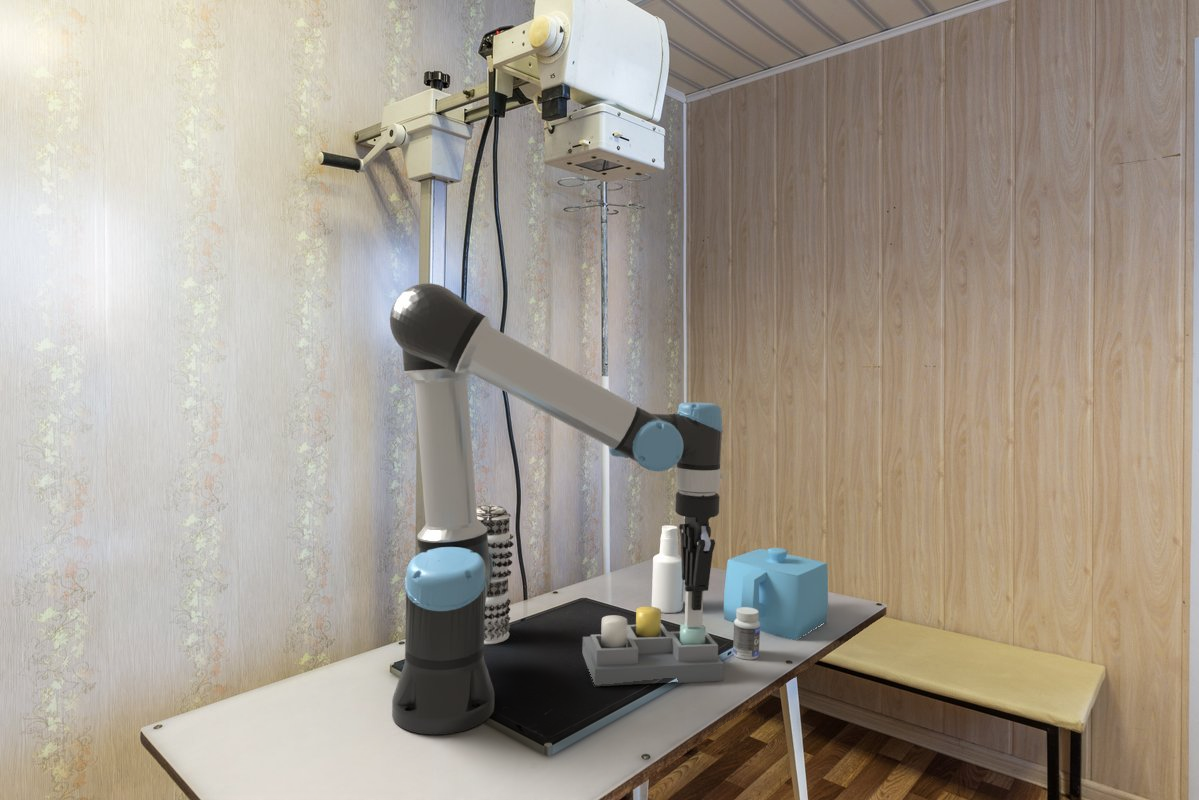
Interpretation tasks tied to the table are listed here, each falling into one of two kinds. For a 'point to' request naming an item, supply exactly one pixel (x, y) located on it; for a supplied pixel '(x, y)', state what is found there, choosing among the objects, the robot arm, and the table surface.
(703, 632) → the button teal
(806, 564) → the container
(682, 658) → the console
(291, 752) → the table surface
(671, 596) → the spray bottle
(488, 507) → the decorative candle
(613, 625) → the button ivory
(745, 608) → the pill bottle
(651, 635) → the button mustard
